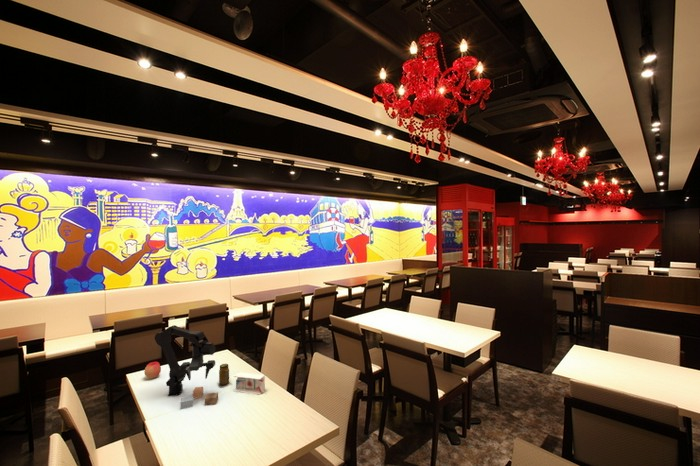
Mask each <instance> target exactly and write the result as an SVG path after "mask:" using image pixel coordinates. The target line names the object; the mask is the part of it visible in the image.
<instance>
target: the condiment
mask: <svg viewBox="0 0 700 466" xmlns="http://www.w3.org/2000/svg"><path fill="white" fill-rule="evenodd" d="M218 374H219V375H218V376H219V377H218V382H216V385H218V387H220V388H225V387H229V386H231V385H232V386H233V384H232V382H231V381H230V367H229V363H222V364H220V365H219V369H218Z"/></svg>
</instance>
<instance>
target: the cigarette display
mask: <svg viewBox="0 0 700 466" xmlns="http://www.w3.org/2000/svg"><path fill="white" fill-rule="evenodd" d="M233 377H234V378H237V379H235V389H234V390H233V392H238V393H247V394H254V395H262V394H264V393H265V391H266V380H265V379H266V377H265V374H258V373H250V372H237V373H236V374H234V375H233Z"/></svg>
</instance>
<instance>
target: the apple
mask: <svg viewBox="0 0 700 466" xmlns="http://www.w3.org/2000/svg"><path fill="white" fill-rule="evenodd" d="M143 371H144V376H145V377H146V378H147V379H151V380H152V379H155V378H157V377H158V376H160V374H161V371H162V367H161V365H160V362H158V361H152V362H149V363H148V364H146V367H145V368H144V370H143Z"/></svg>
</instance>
